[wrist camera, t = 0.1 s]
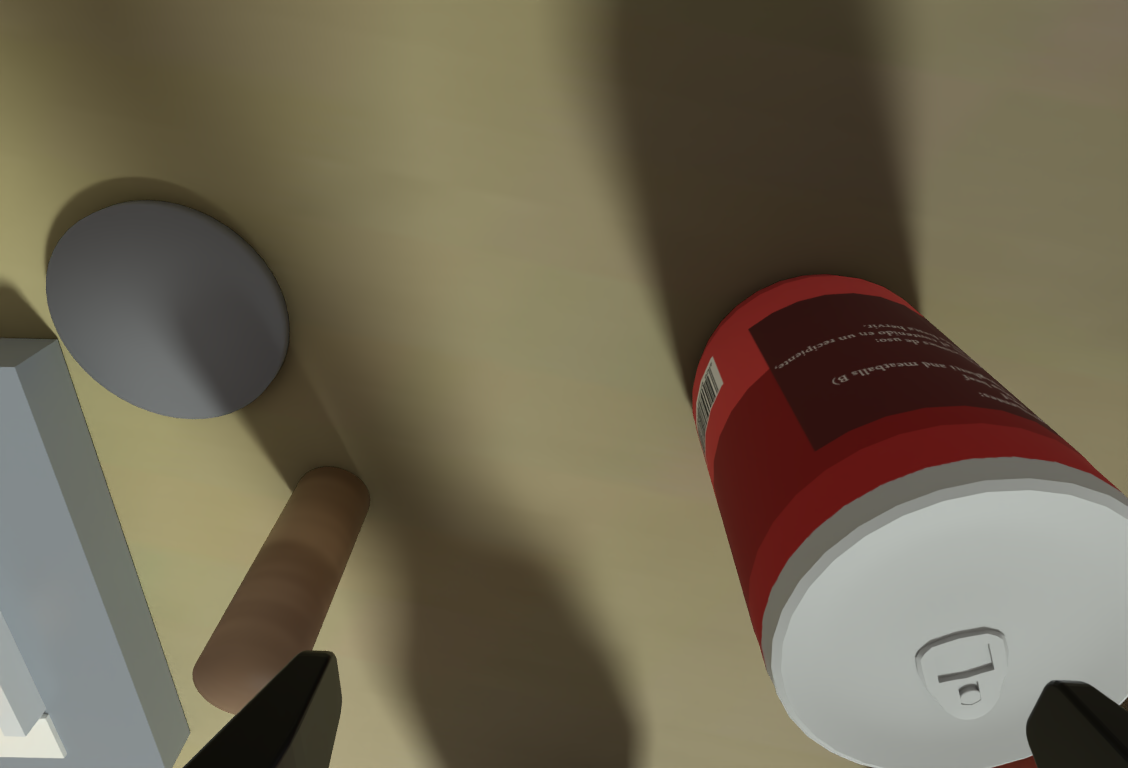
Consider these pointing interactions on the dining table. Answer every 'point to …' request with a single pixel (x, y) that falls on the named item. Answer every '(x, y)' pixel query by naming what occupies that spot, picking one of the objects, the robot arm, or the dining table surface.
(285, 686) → the robot arm
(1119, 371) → the dining table surface
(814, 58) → the dining table surface
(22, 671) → the panel
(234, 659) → the dowel
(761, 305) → the canned food
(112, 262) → the pad
